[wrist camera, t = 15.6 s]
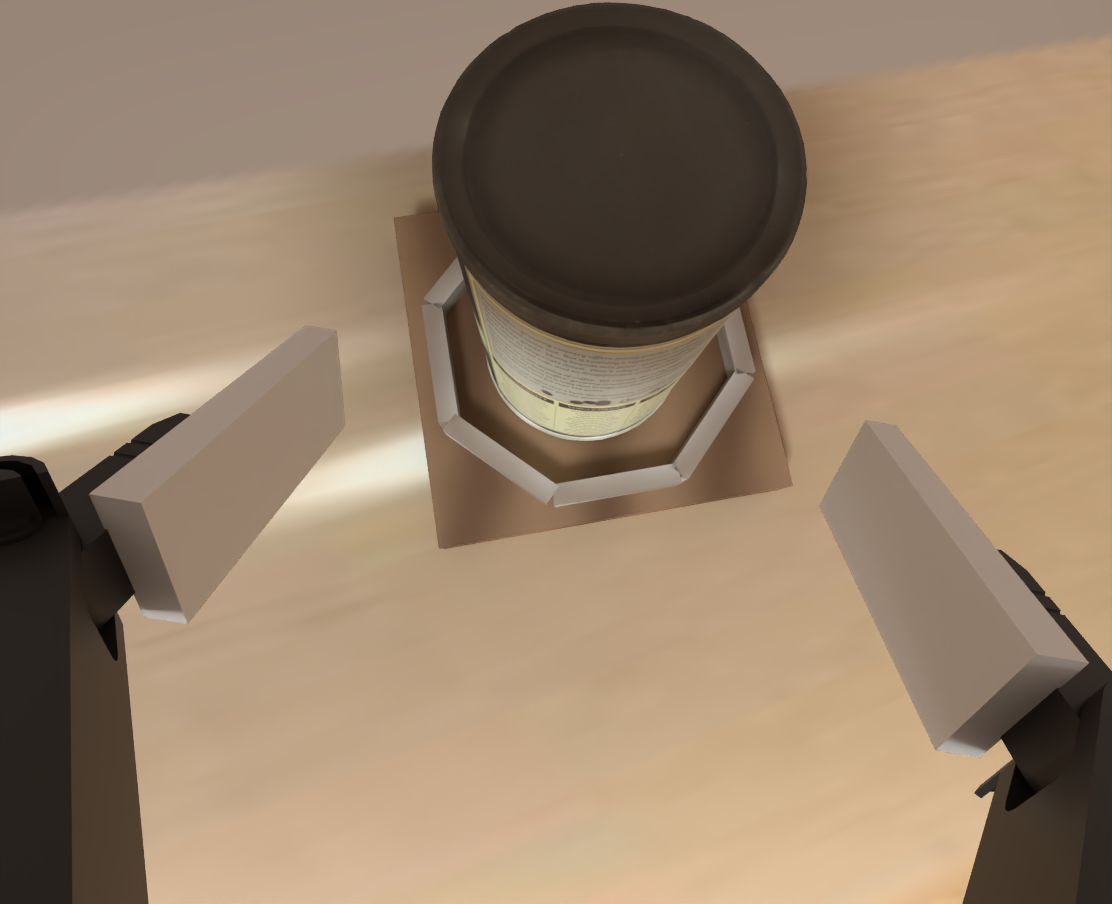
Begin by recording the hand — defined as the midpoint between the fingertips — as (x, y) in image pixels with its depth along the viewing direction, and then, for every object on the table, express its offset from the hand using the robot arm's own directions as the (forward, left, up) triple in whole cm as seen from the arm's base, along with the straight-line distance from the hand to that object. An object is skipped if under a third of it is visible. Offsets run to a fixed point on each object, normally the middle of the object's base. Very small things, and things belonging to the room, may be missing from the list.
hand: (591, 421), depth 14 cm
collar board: (+2, +7, -16) cm, 17 cm away
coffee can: (+2, +7, -14) cm, 16 cm away
